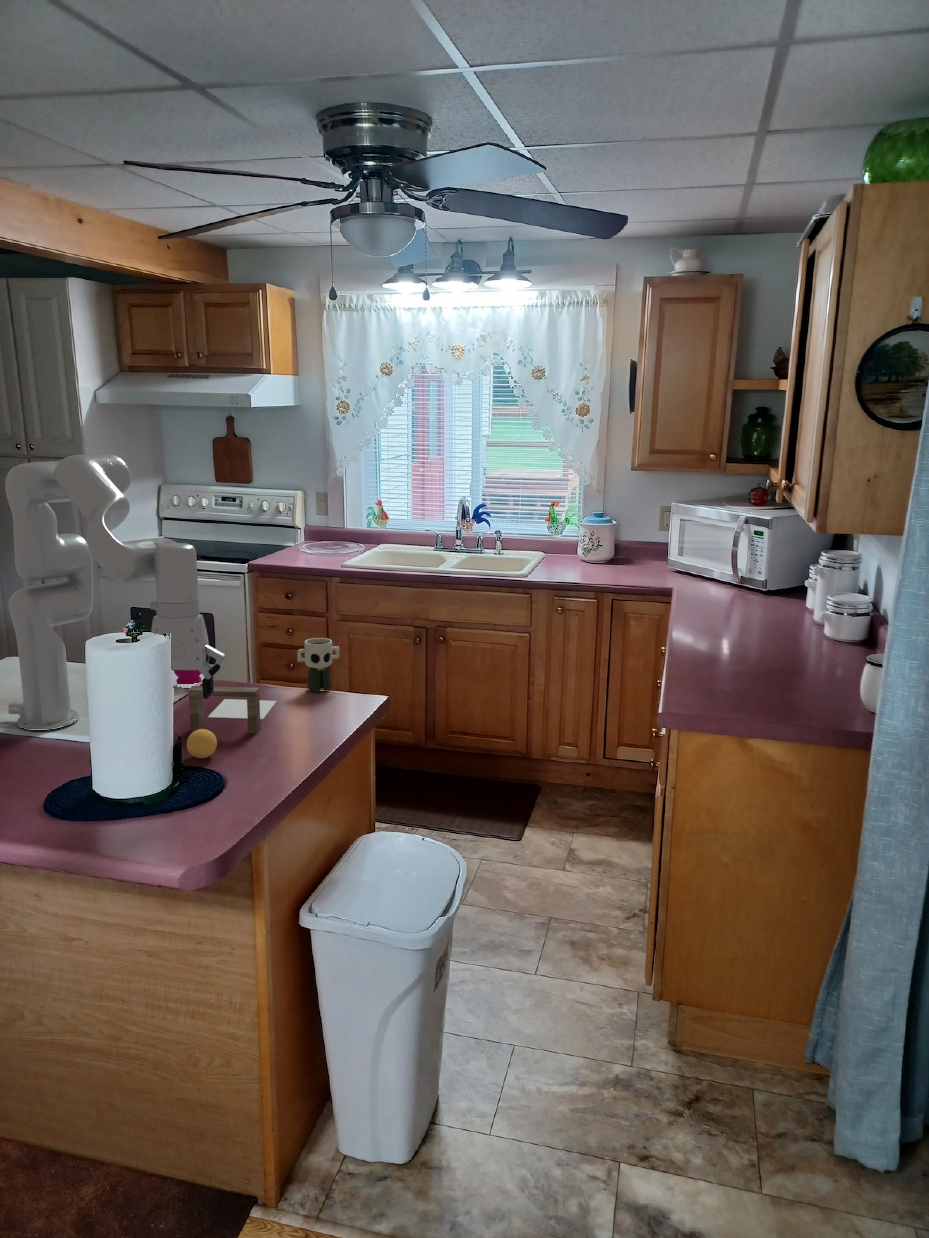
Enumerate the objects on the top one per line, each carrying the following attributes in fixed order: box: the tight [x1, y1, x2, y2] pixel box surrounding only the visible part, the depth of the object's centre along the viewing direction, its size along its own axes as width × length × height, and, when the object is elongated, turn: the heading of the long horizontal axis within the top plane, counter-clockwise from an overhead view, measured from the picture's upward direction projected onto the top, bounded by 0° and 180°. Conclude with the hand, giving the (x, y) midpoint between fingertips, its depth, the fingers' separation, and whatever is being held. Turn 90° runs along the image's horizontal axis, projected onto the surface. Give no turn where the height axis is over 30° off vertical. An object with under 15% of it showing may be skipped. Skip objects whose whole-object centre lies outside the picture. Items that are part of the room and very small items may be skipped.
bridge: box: [187, 685, 261, 734], centre depth 198 cm, size 3×15×10 cm, turn 88°
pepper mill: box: [173, 670, 203, 685], centre depth 227 cm, size 7×7×20 cm
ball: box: [186, 728, 218, 759], centre depth 182 cm, size 6×6×6 cm
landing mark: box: [207, 698, 278, 721], centre depth 212 cm, size 13×13×1 cm
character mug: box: [296, 637, 340, 692], centre depth 227 cm, size 11×7×13 cm, turn 112°
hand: (183, 696), depth 170 cm, fingers open, 9 cm apart
